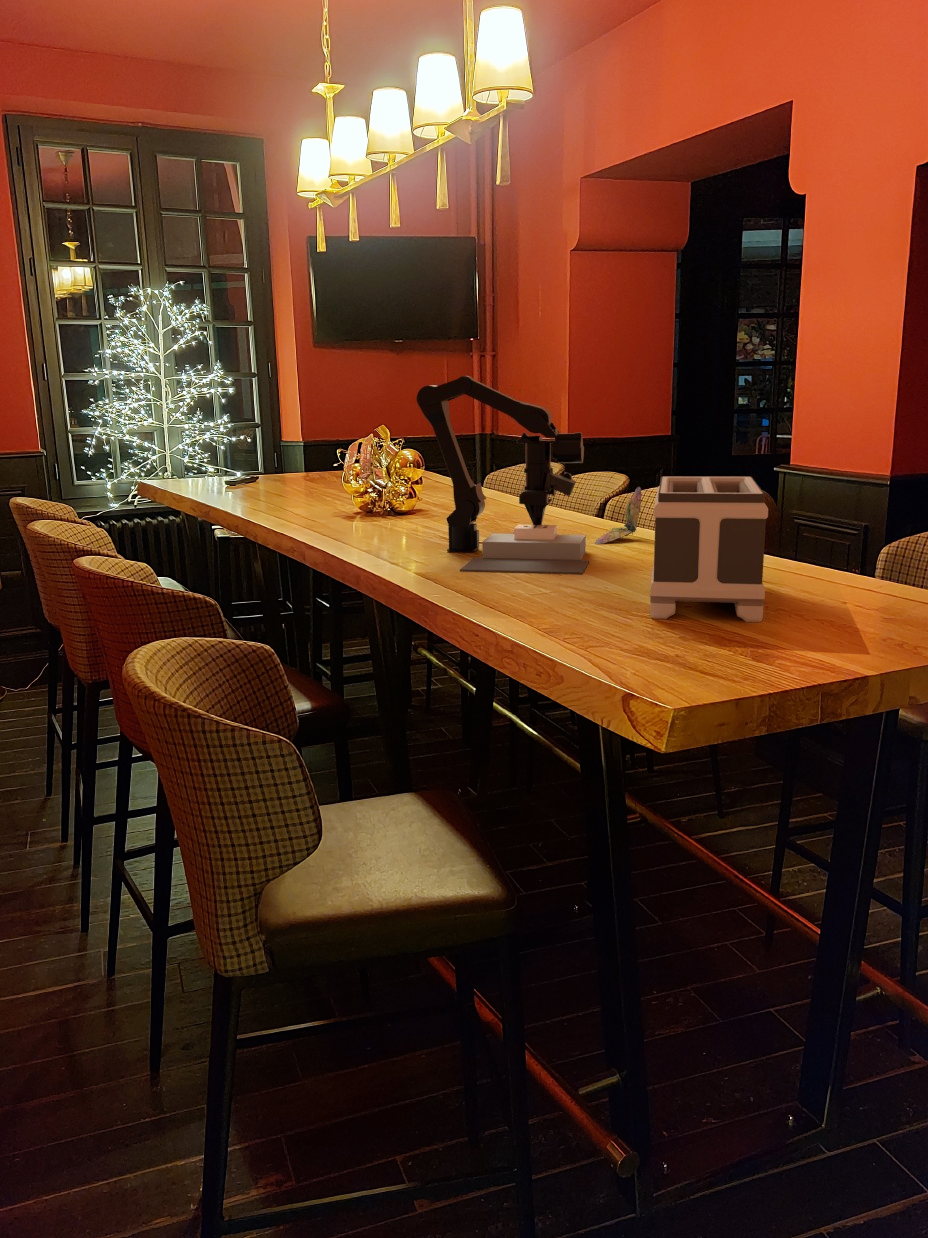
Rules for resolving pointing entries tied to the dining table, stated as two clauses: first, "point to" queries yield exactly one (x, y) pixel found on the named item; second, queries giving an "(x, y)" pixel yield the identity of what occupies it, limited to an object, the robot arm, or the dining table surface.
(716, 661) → the dining table surface
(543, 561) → the mat
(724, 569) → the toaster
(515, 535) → the domino
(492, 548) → the block
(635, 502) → the butterfly
